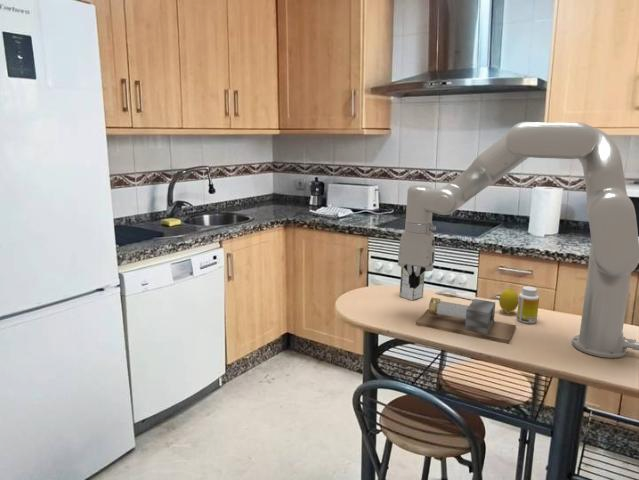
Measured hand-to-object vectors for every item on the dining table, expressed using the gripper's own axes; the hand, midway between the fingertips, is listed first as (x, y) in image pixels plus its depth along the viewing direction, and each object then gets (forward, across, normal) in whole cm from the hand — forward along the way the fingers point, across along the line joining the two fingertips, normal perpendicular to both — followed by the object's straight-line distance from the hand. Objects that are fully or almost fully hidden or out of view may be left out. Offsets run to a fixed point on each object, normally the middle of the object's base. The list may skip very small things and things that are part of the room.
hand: (413, 287), depth 149 cm
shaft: (+7, -12, 0) cm, 14 cm away
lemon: (+9, -25, -18) cm, 32 cm away
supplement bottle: (+9, -31, -14) cm, 35 cm away
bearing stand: (+9, -16, 0) cm, 19 cm away
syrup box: (+10, +6, -17) cm, 20 cm away
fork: (+10, -10, -25) cm, 29 cm away
